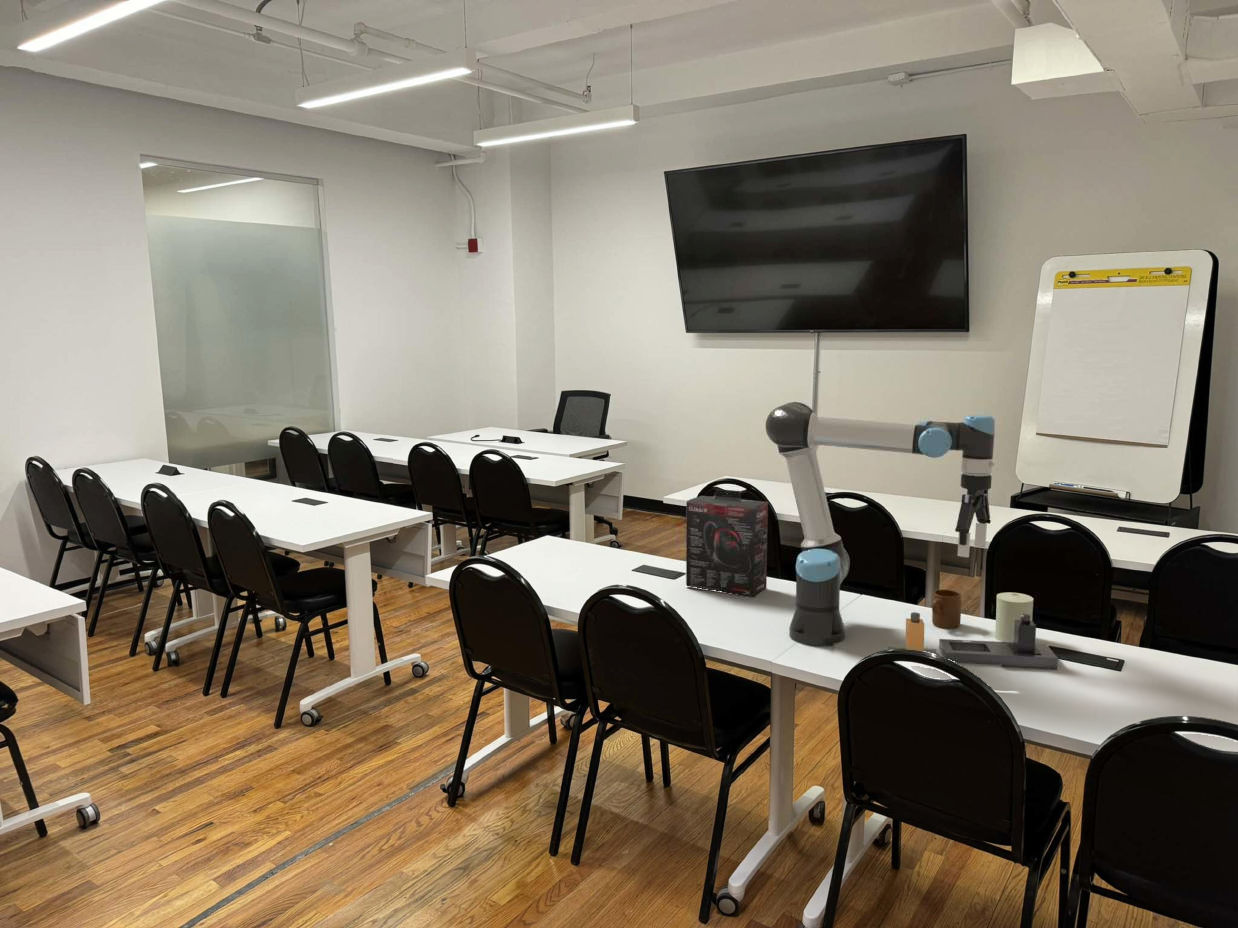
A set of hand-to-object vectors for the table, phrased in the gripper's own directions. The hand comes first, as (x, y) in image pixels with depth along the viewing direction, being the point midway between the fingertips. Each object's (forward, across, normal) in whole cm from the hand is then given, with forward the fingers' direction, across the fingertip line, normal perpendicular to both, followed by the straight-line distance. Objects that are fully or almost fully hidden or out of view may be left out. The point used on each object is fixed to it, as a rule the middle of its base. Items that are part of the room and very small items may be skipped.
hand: (971, 551), depth 231 cm
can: (+24, +6, -10) cm, 27 cm away
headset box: (+26, 0, +78) cm, 82 cm away
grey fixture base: (+24, -12, -11) cm, 29 cm away
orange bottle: (+24, -23, +6) cm, 33 cm away
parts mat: (+24, -23, +6) cm, 34 cm away
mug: (+24, +4, +8) cm, 26 cm away
